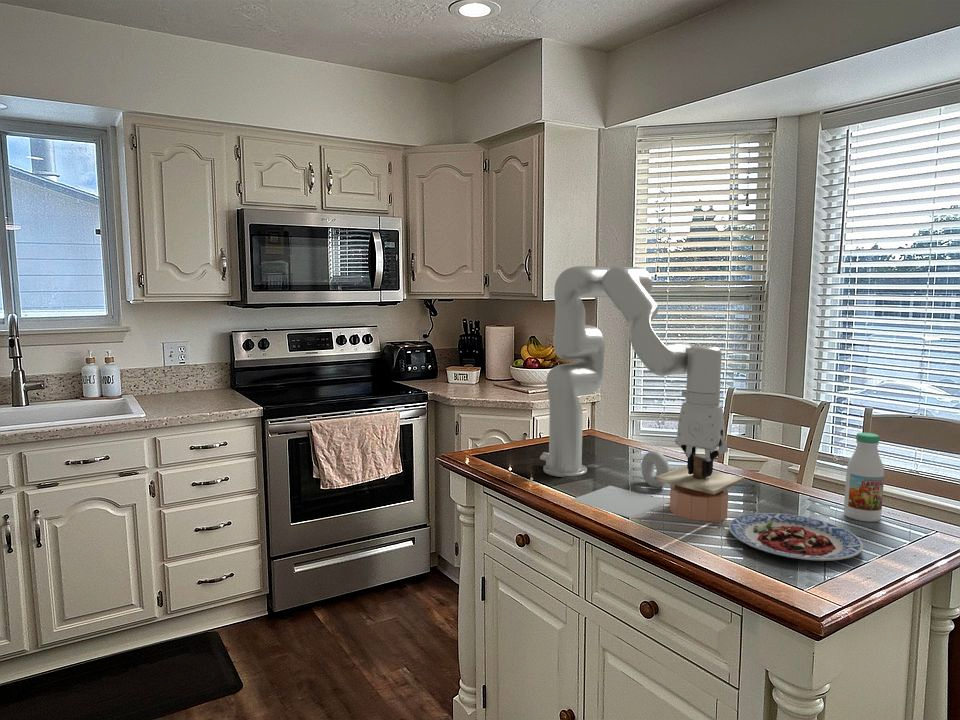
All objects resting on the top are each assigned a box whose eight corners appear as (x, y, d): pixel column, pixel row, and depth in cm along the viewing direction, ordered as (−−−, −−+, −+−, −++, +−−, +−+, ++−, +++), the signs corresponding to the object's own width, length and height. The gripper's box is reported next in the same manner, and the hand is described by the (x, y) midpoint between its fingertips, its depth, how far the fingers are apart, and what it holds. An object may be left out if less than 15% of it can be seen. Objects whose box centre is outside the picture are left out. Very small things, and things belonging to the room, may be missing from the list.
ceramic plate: (893, 561, 133) (894, 546, 133) (786, 576, 126) (787, 561, 125) (797, 517, 158) (798, 505, 157) (704, 528, 150) (704, 515, 150)
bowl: (659, 512, 160) (660, 488, 159) (686, 500, 169) (687, 477, 168) (710, 527, 150) (711, 501, 150) (736, 513, 159) (737, 489, 159)
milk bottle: (835, 513, 159) (841, 432, 157) (858, 509, 162) (864, 429, 160) (865, 524, 152) (872, 439, 150) (888, 520, 155) (895, 436, 153)
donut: (671, 492, 175) (673, 455, 174) (661, 493, 174) (662, 456, 173) (648, 481, 185) (649, 446, 183) (637, 483, 183) (639, 447, 182)
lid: (654, 480, 159) (655, 456, 158) (686, 468, 169) (687, 445, 168) (713, 494, 148) (714, 469, 147) (744, 480, 158) (745, 457, 158)
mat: (570, 502, 167) (570, 499, 167) (610, 487, 179) (610, 485, 179) (631, 520, 154) (631, 518, 154) (670, 503, 166) (670, 501, 166)
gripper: (663, 396, 160) (660, 470, 162) (728, 405, 148) (725, 485, 150) (679, 392, 165) (676, 465, 167) (743, 401, 153) (740, 478, 155)
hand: (699, 474), depth 158 cm, fingers closed on lid, 3 cm apart
